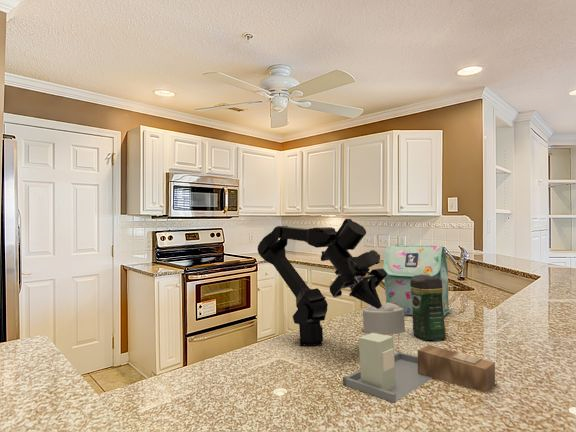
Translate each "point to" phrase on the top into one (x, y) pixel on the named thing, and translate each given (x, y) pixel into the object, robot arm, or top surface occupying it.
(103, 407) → the top surface
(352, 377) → the parts tray
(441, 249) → the lunch bag
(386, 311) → the lumpy-topped squat cylinder
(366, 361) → the sage box
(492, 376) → the walnut box
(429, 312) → the coffee jar
